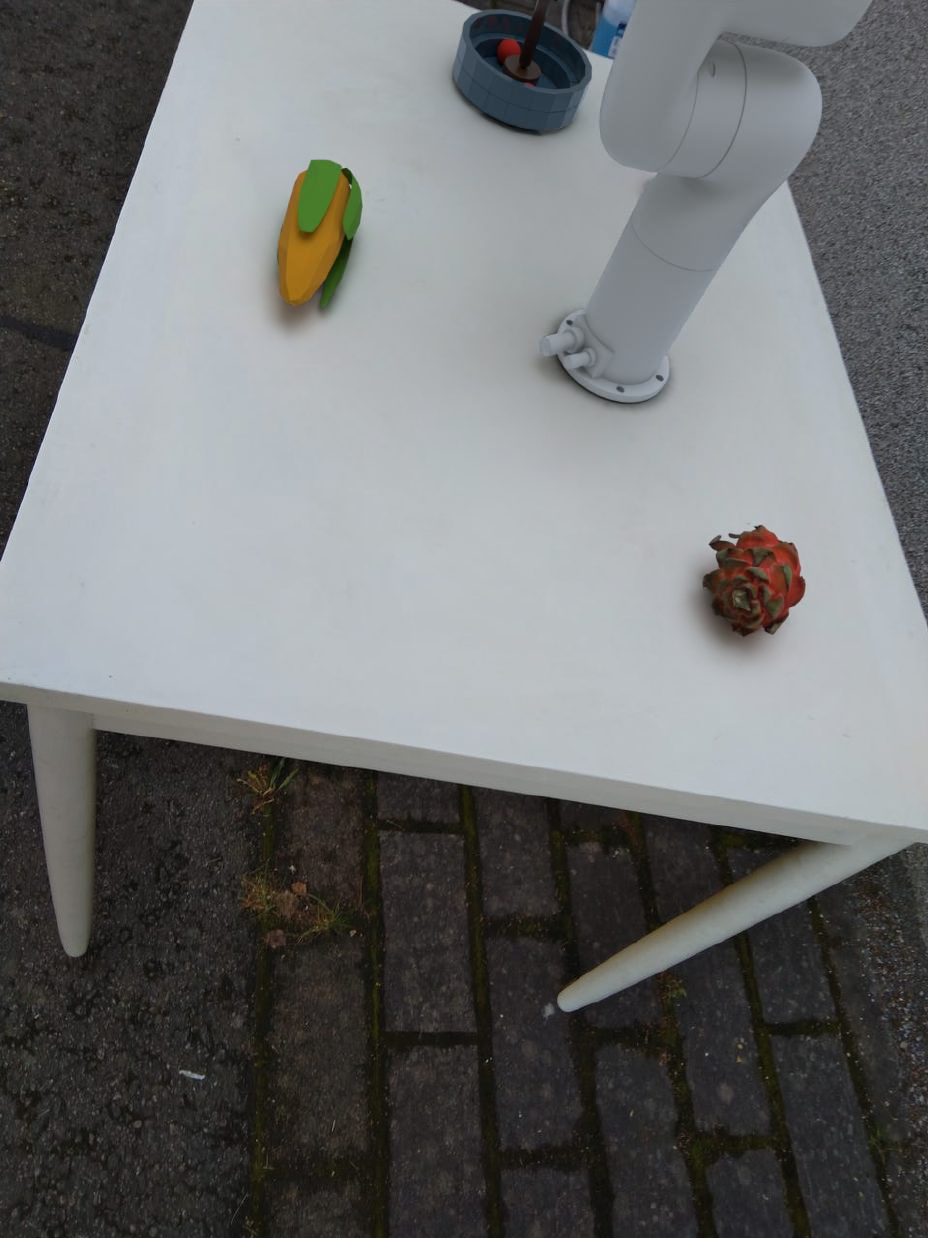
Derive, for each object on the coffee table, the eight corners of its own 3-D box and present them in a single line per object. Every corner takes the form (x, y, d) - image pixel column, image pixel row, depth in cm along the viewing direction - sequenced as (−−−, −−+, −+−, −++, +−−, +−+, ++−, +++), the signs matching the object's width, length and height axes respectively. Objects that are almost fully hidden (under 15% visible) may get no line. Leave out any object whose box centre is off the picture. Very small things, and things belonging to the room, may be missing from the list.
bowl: (494, 141, 109) (508, 97, 104) (427, 56, 114) (437, 10, 110) (599, 129, 117) (617, 88, 112) (532, 50, 122) (546, 7, 117)
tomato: (496, 60, 114) (498, 33, 114) (496, 68, 117) (497, 42, 116) (520, 62, 114) (521, 35, 114) (519, 70, 117) (520, 44, 116)
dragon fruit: (704, 660, 81) (718, 572, 89) (805, 661, 77) (810, 570, 85) (693, 589, 76) (708, 503, 84) (801, 587, 72) (806, 497, 80)
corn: (374, 145, 89) (340, 276, 79) (366, 213, 96) (334, 342, 85) (300, 127, 88) (256, 256, 78) (296, 196, 95) (255, 325, 84)
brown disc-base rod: (517, 90, 112) (562, -49, 99) (494, 66, 113) (536, -74, 100) (545, 84, 114) (593, -52, 101) (522, 61, 115) (567, -77, 102)
